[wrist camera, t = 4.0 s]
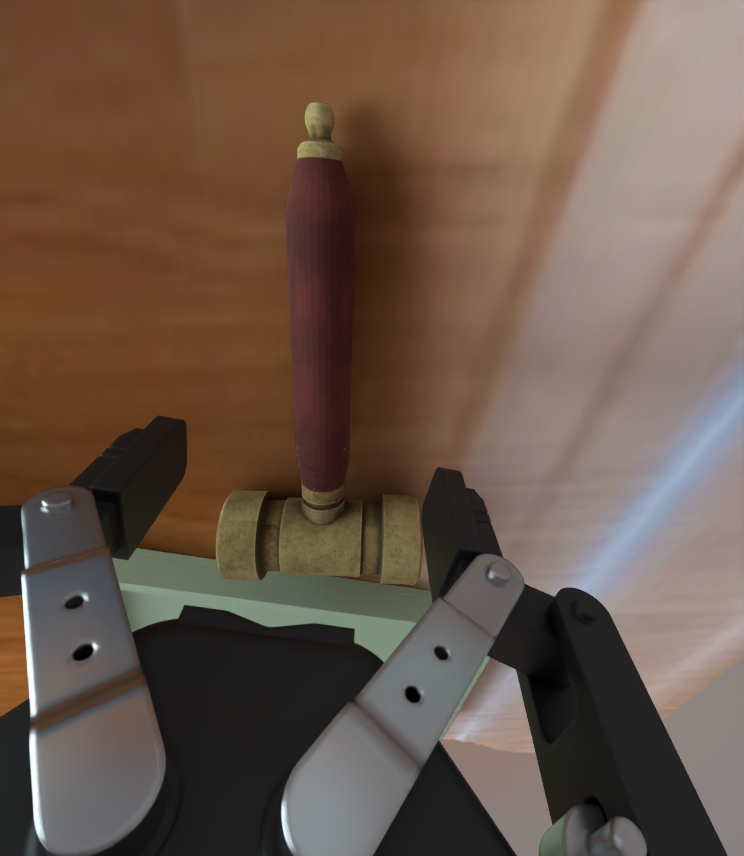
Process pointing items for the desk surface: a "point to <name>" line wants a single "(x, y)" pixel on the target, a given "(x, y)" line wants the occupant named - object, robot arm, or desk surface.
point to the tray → (273, 600)
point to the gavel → (320, 406)
